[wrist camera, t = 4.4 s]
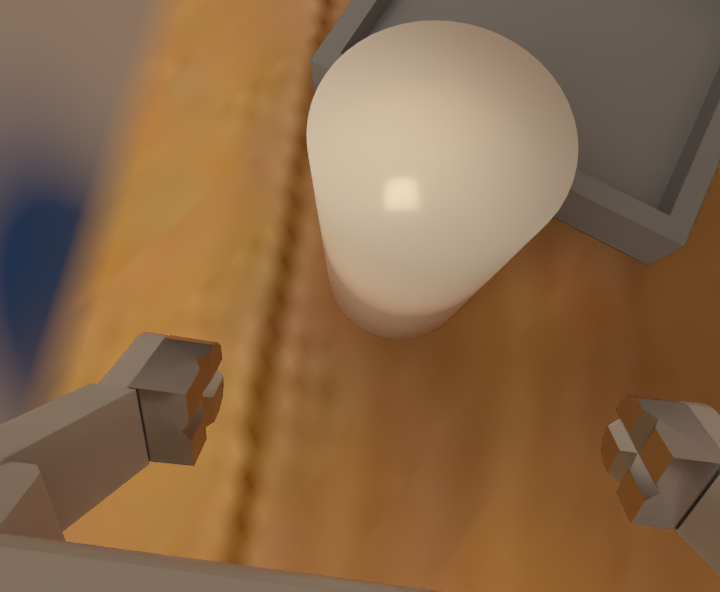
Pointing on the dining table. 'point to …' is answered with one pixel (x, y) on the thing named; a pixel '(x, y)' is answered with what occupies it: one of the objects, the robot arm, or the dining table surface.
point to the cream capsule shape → (433, 169)
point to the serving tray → (603, 100)
